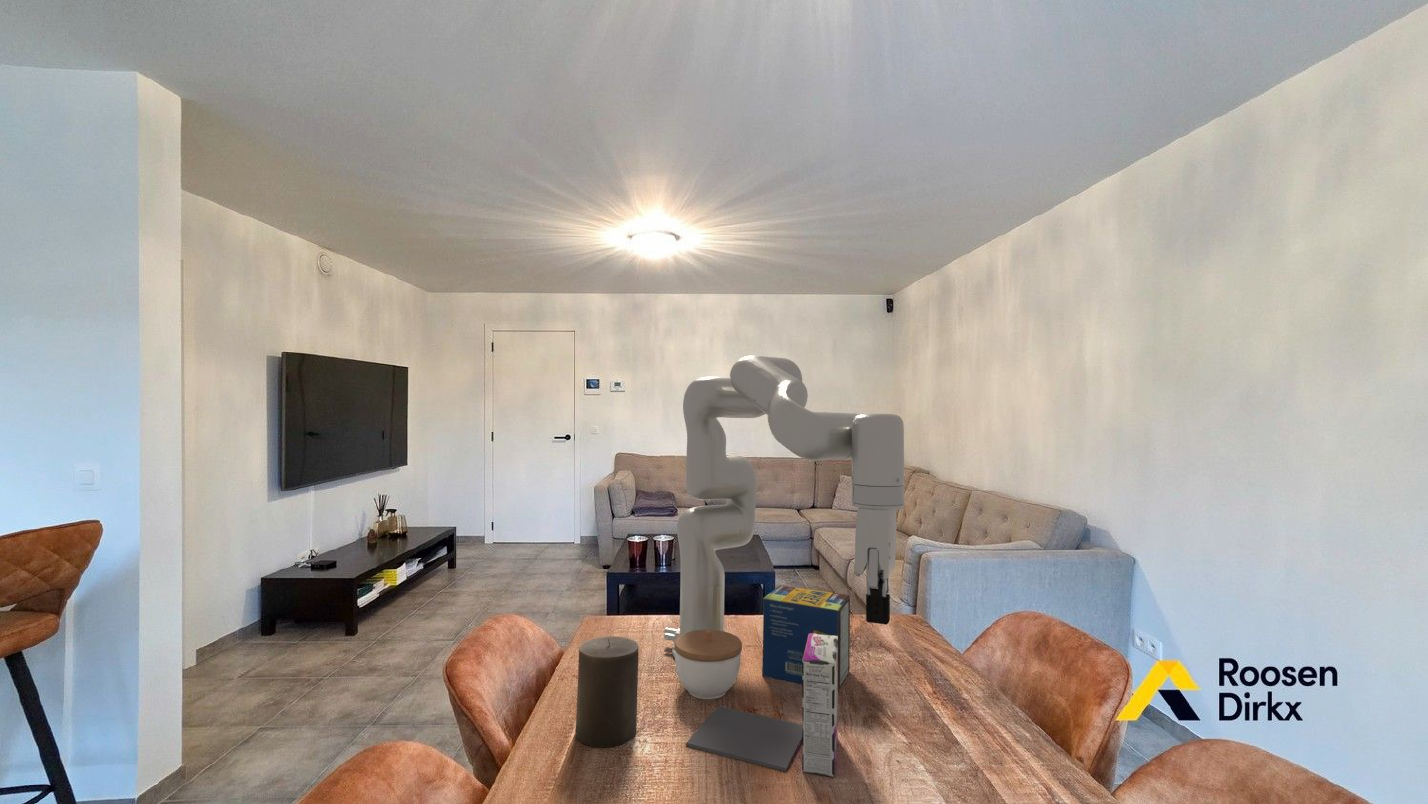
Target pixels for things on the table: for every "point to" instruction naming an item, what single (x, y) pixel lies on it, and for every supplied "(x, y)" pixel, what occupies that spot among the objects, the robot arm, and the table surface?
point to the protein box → (802, 629)
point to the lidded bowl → (707, 662)
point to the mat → (749, 737)
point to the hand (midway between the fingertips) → (878, 621)
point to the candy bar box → (820, 704)
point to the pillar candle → (607, 691)
